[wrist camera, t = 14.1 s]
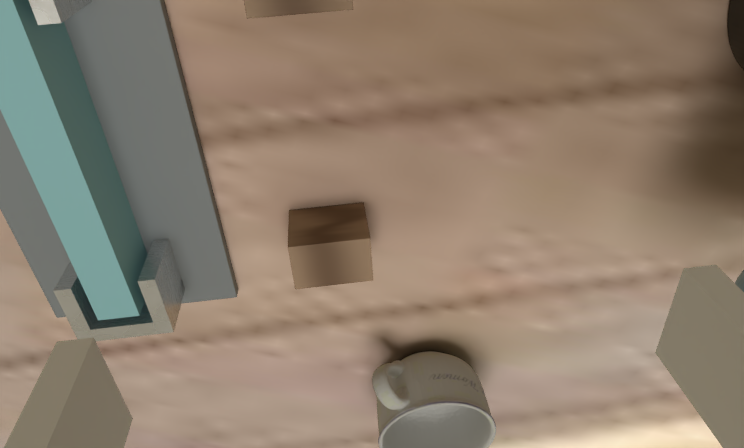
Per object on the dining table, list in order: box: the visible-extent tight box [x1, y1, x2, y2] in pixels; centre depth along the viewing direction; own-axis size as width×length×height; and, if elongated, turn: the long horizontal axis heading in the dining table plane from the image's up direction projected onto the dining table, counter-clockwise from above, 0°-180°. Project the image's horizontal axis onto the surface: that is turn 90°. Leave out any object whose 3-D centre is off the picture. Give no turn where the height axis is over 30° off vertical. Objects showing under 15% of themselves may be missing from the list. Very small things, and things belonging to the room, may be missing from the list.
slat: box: [0, 0, 148, 320], centre depth 36 cm, size 3×24×5 cm, turn 3°
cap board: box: [0, 0, 238, 318], centre depth 38 cm, size 15×31×1 cm, turn 3°
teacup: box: [372, 351, 496, 448], centre depth 53 cm, size 14×11×8 cm
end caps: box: [29, 0, 185, 341], centre depth 36 cm, size 7×28×5 cm, turn 3°
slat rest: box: [244, 0, 373, 289], centre depth 38 cm, size 6×24×5 cm, turn 3°
